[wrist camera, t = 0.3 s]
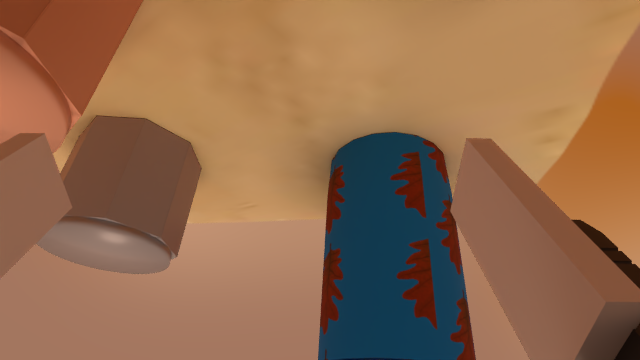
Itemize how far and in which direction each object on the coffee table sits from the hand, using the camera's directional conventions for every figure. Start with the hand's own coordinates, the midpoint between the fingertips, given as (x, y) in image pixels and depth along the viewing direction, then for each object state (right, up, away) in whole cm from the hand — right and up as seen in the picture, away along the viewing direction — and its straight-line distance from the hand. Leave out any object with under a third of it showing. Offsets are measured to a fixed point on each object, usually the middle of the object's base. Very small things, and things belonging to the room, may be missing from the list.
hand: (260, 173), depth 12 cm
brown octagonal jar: (-15, +2, +24) cm, 28 cm away
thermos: (+8, +1, +23) cm, 25 cm away
